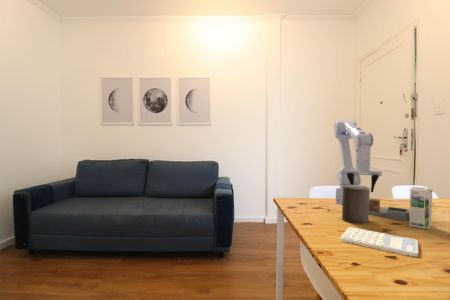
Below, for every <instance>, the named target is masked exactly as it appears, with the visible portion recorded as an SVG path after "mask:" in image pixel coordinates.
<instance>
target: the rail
mask: <svg viewBox="0 0 450 300" xmlns="http://www.w3.org/2000/svg"><path fill="white" fill-rule="evenodd" d="M387 208H388V210H379V212H378V211H371V210H369V215H372V216H379V217H386V218H387V219H395V220H398V221H399V220H400V221H405V222H406V221H407V222H410V208H404V207H395V206H387Z"/></svg>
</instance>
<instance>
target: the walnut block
mask: <svg viewBox="0 0 450 300" xmlns="http://www.w3.org/2000/svg"><path fill="white" fill-rule="evenodd" d="M380 207H381V199H379V198H371V197H369V210H371V211H378V212H379V210H380Z"/></svg>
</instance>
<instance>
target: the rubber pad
mask: <svg viewBox="0 0 450 300" xmlns="http://www.w3.org/2000/svg"><path fill="white" fill-rule="evenodd" d="M380 210H388V206H387V207H386V206H380Z"/></svg>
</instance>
